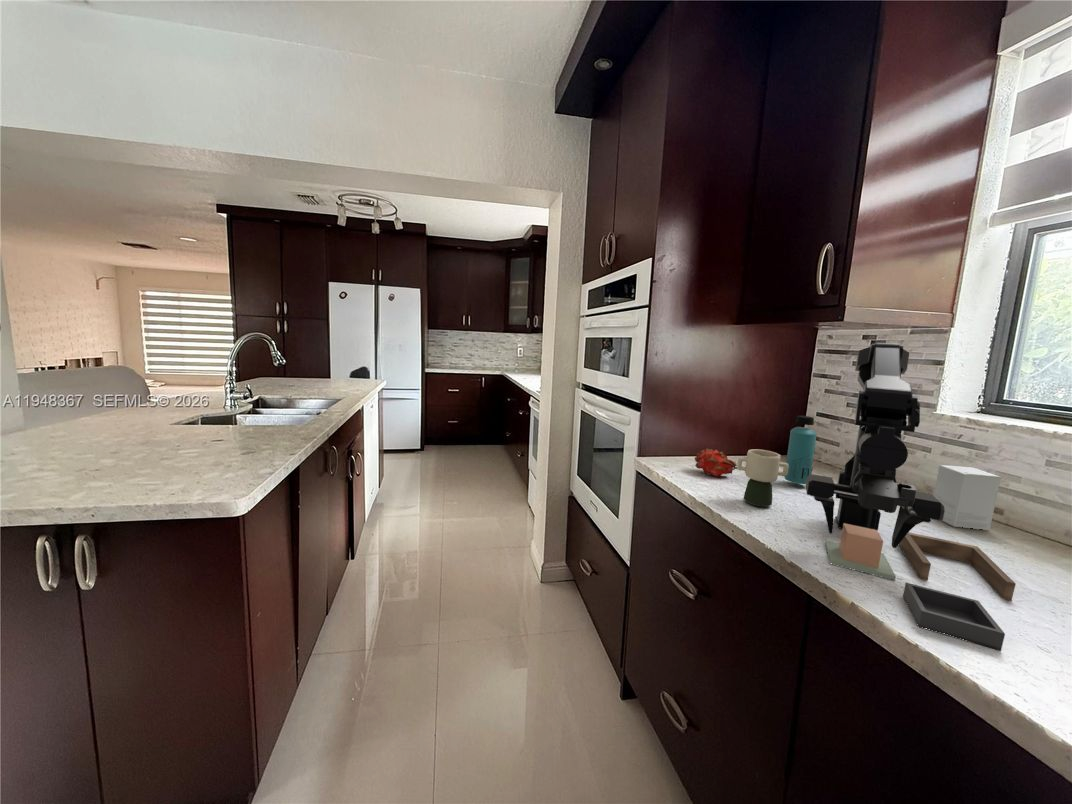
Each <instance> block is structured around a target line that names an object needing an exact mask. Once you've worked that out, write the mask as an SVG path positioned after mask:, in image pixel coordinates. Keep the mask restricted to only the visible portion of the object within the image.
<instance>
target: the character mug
mask: <svg viewBox="0 0 1072 804" xmlns="http://www.w3.org/2000/svg"><path fill="white" fill-rule="evenodd" d="M743 462H744V463H745V466H742V464H743ZM736 465H737V466H736V467H737V469H736V470H739V471H743V472H744V473H745V476H746V477H747V478H749V479H748V480H747V485H746V487H745V491H744V495H743V500H744V501H745V502H747V503H749V504H751V505H754V506H757V507H762V508H763V507H769V506H772V504H773V484H772V483H774V482H776V481H777V480H778V477H780V476H781V477H784V476H787V473H788V464H787V463H786V462H782V461H781V454H779V453H777V452H774V451H771V450H766V449H759V448H757V449H748V451H747V453H746V457H743V456H739V457H738V459H737V463H736ZM780 467H783V469H782V471H779V470H780Z"/></svg>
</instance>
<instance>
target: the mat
mask: <svg viewBox="0 0 1072 804" xmlns="http://www.w3.org/2000/svg"><path fill="white" fill-rule="evenodd" d="M824 546H825V550H826V553H827V552H828V553H827V557H828V556H829V557H828V560H830V561H829V564H830V563H832V564H835V565H834V566H836V565H838V566H837V567H840V566H843V567H847V568H851V569H855V570H858V571H857V572H859V571H863V572H866V573H865V574H867V573H870V574H869V575H871V574H874V575H873V576H875V575H877V576H876V577H879V576H882V577H881V578H883V577H885V578H884V579H887V578H889V579H888V580H891V579H894V580H893V581H896V579H897V578H896V577H897V576H896V574H895V572H894V570H893V568H892V566H891V565H890V562H889V561H888V559H887V557H886V556H885V553H884V552H883V553H882V552H881V556H880V561H879V567H878V568H877V567H873V566H869V565H865V564H861V563H857V562H853V561H849V560H845V559H843V557H842V554H841V551H840V548H839V547H840V542H834V541H831V540H827V539H825V543H824ZM832 564H831V565H832ZM843 567H842V568H843ZM847 568H846V569H847ZM851 569H850V570H851ZM855 570H854V571H855ZM863 572H862V573H863Z"/></svg>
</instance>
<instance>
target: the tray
mask: <svg viewBox="0 0 1072 804" xmlns="http://www.w3.org/2000/svg"><path fill="white" fill-rule="evenodd" d="M903 597H904V598H903ZM902 598H903V600H904V602H905V603H906V606H907V605H908V606H907V608H908V607H909V608H908V610H909V609H910V610H909V612H910V611H911V612H910V614H911V613H912V614H911V615H913V616H912V617H914V618H913V619H914V621H915V623H916V625H917V624H918V625H917V627H918V626H919V627H918V628H920V627H923V628H922V629H924V628H927V629H930V630H929V631H931V630H933V631H932V632H934V631H937V632H941V633H945V634H948V635H951V636H954V637H953V638H955V637H957V638H956V639H958V638H961V639H960V640H962V639H964V640H963V641H965V640H967V641H966V642H968V641H970V642H969V643H973V644H976V645H979V646H983V647H986V648H990V649H992V650H993V649H994V650H997V651H1000V652H1001V651H1002V648H1003V644H1004V640H1005V636H1006V633H1005V632H1004V630H1003V629H1002V628H1001V627H1000V626H999V624H998V623H997V622H996V620H995V619H994V618H993V617H992V615H990V613H989V612H988V611H987V610H986V608H985V607H984V606H983V604H982V603H981V602H980V600H977V599H973V598H971V597H970V598H969V597H965V596H961V595H957V594H953V593H949V592H946V591H945V592H944V591H941V590H937V589H934V588H931V587H930V588H929V587H925V586H922V585H917V584H915V583H914V584H913V583H909V582H905V584H904V589H903V594H902ZM927 629H926V630H927ZM937 632H936V633H937ZM941 633H940V634H941ZM948 635H947V636H948ZM951 636H950V637H951Z"/></svg>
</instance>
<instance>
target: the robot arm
mask: <svg viewBox="0 0 1072 804" xmlns="http://www.w3.org/2000/svg"><path fill="white" fill-rule="evenodd" d="M909 358H910V352H909V351H908V350H906V349H904V344H900V343H899V342H897V343H893V342H892V343H891V342H890V343H889V342H875V343H871V344H870V346H869V347H865V348H862V349H860V350H858V352H857V356H856V360H855V361H856V362H855V368H854V371H856V372H858V373H857V382H858V384H859V385H860V387H861V388H862V390H859V391H858V395H857V400H856V407H855V416H854V417H855V418H854V425H855V426H858V432H857V439H856V444H855V452H854V455H853V456H852V457H851V458H850V459H848V461H847V462H846V463H845V464H844V468H843V471H841V470H840V471H839V474H838V479H837V483H835V481H834V479H833V477H831V476H824V475H819V474H818V475H817V474H813V473H811V474H810V475H809V476H807V479H806V484H804V485H805V487H804V488H805V491H806V495H809V496H810V497H813V498H814V501H816V502H820V503H821V505H822V507H823V511H824V515H825V519H826V520H825V521H826V526H827V529H828V534H830V535H832V534H833V531H834V520H835V522H836V524H837V527H838V528H839V529H841V530H842V529H843V523H845V524H850V525H855V526H860V527H864V528H869V529H874V530H877V531H878V530H879V527H880V526H879V525H880V521H881V515H882V513H881V512H880V511H883V512H885V513H889V514H892V513H895V512H896V510H897V508H898V507H899V508H898V513H897V516H896V519H895V524H894V528H893V533H892V536H891V547H892V549H896V548H898V546H899V544H900V542H901V541H902V540H903V538H904V537H905V536H906V535H907V533H908V532H910V531H912V529H913V528H914V527H915V526H917V525H919V524H921V523H931V521H932V520H935V521H942V520H943V516H944V512H945V509H944V505H943V504H942V503H941V502H940V501H938V500H937V499H936V498H935V497H934V494H930V493H924V492H919V491H917V489H916V486H915V485H914V484H913V485H912V484H909V483H902V482H901V483H898V482H897V478H896V477H897V476H896V475H897V473H896V472H897V469H898V468H900V467H902V466H903V465H904V464H905V463H906V461H907V459H908V457H909V453H908V449H907V446H906V445H905V443H904V441H903V440H902V435H903V434H902V432H908V433H909V432H910V433H914V432H915V430H916V428H918V427H919V425H920V422H921V419H920V417H921V412H920V411H921V403H920V401H918V400H919V399H918V397H917V395H913V389H912V385H911V384H910V383H909V382H907V381H905V380H903V379H902V375H905V373H906V372H907V370H908V366H909ZM907 424H908V425H907ZM834 495H835V499H838V500H839V502H838V508H837V513H836V514H837V515H836V516H835V515H834V509H835V499H834V498H833V497H834ZM834 516H835V517H834ZM878 532H879V531H878Z"/></svg>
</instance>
